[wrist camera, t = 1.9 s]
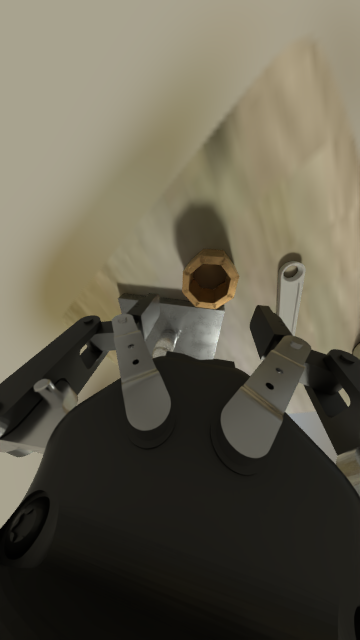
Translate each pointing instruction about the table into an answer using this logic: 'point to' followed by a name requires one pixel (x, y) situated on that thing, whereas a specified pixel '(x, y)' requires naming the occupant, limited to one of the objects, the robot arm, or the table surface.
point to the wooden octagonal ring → (207, 295)
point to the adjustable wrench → (290, 295)
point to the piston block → (181, 327)
